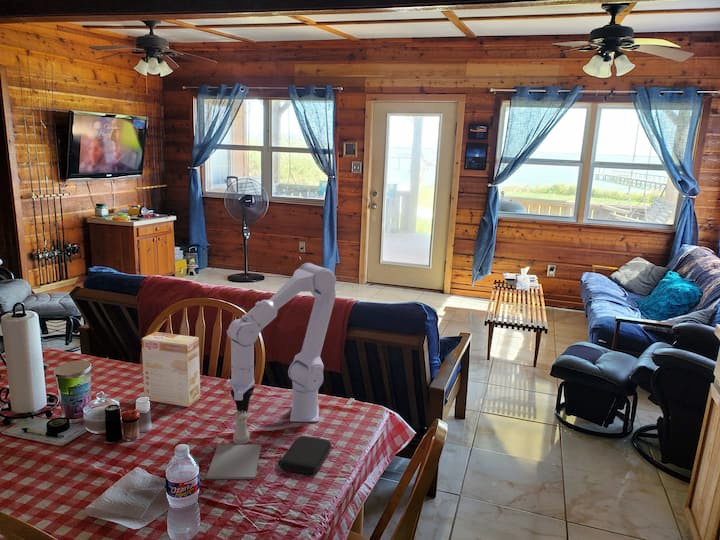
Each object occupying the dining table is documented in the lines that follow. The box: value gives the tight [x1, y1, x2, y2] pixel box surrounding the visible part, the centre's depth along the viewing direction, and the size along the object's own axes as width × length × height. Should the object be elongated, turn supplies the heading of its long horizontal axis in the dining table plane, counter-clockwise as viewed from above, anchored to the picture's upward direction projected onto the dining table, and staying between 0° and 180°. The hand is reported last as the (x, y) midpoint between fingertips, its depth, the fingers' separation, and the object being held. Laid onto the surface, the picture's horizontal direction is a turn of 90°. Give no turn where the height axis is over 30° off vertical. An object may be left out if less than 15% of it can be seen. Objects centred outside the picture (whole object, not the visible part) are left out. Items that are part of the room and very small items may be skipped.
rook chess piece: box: [232, 410, 251, 445], centre depth 141 cm, size 4×4×8 cm
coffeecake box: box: [141, 331, 201, 408], centre depth 162 cm, size 15×7×20 cm, turn 76°
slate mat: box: [205, 444, 262, 480], centre depth 132 cm, size 14×11×1 cm
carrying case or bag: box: [277, 435, 332, 477], centre depth 135 cm, size 11×3×15 cm
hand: (242, 413), depth 143 cm, fingers closed
